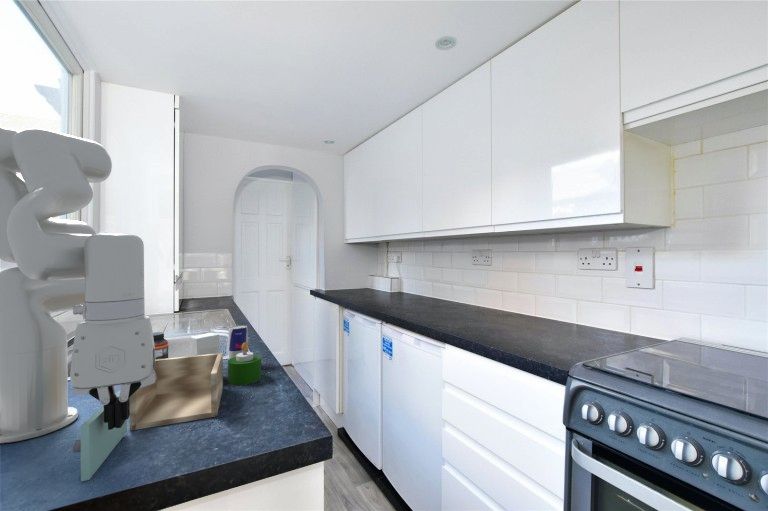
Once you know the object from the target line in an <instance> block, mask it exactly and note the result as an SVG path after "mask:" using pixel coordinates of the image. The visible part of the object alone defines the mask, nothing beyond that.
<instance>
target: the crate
mask: <svg viewBox="0 0 768 511" xmlns="http://www.w3.org/2000/svg"><path fill="white" fill-rule="evenodd" d="M223 360H224V354H223V352H220V353H216V354H206V355H197V356H190V355H189V356H179V357H170V358H169V357H168V358H167V359H157V360H155V369H154V370H155V373H156V376H157V380H156V381H155V383H153V384H150V385H147V386H144V387H141V388H139V389H138V390H137V391H136V392H135V393H134V394H133V395H132V396H131V397H130V415H129V431H134V430H136V431H137V430H143V429H148V428H154V427H155V428H156V427H161V426H165V425H167V426H168V425H173V424H178V423H185V422H190V421H196V420H203V419H209V418H216V417H217V416H218V413H219V408H220V403H221V398H222V395H223V391H224V365H223V364H224V361H223Z"/></svg>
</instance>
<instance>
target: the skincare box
mask: <svg viewBox="0 0 768 511" xmlns="http://www.w3.org/2000/svg"><path fill="white" fill-rule="evenodd" d="M216 353H221V351H220V334H219V333H215V332H207V333H203V334H198V335H192V336H189V354H190V355H189V356H197V355H206V354H216Z"/></svg>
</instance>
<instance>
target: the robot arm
mask: <svg viewBox="0 0 768 511" xmlns="http://www.w3.org/2000/svg"><path fill="white" fill-rule="evenodd" d="M112 169H113V163H112V158H111V155H110V153H109V152H108V150H107V149H106V148H105V146H103V145H102V144H100V143H98V142H96V141H93V140H90V139H86V138H82V137H77V136H74V135H70V134H66V133H62V132H59V131H55V130H49V129H44V128H36V127H35V128H34V127H31V128H25V129H21V130H17V129H13V128H9V127H8V128H7V127H2V126H0V260H1V261H3V262H7V263H12V264H16V265H17V266H15V267H9V268H7V269H4V270H2V271H0V444H5V443H6V444H8V443H9V444H10V443H14V442H20V441H21V442H22V441H25V440H30V439H33V438H39V437H41V436H44V435H47V434H50V433H53V432H55V431H57V430H60V429H62V428H64V427H66V426H68V425H70V424H72V423H73V422H74V421H76V420H77V418H78V417H79V410H78V409H77V408H76V407H73V406H69V402H68V401H69V400H68V399H69V394H68V393H69V388H68V387H69V386H68V385H69V384H68V383H69V382H68V381H69V380H70V386H71V387H72V394H74V395H78V396H79V395H80V396H81V395H82V396H91V397H92V398H95V399H96V400H97V401H99V403H100V405H102V406H103V405H104V423H108V430H111V429H113V428H121V427H122V425H123V424H124V422H125V420H126V419H127V420H129V419H130V397H131V396H132V395H133V394H134V393H135V392H136V391H137V390H138V389H139V388H141V387H144V386H147V385H150V384H153V383H155V381H156V380H157V376H156V373H155V370H154V369H155V346H154V338H153V333H154V332H153V326H152V323H151V319H150V316H149V315H145V306H146V305H145V246H144V241H143V239H142V238H141V237H140V236H137V235H134V234H129V233H128V234H127V233H126V234H125V233H97V232H96V231H95V230H94V228H93V227H92V226H91V225H89V224H88V223H86V222H83V221H79V220H72V219H71V220H70V219H59V218H58V219H57V217H60V216H65V215H68V214H72V213H75V212H78V211H80V210H82V209H84V208H85V207H87V206H88V205H89V204H90V203H91V202H92V200H93V197H94V192H93V189H92V186H91V185H90V183H93V184H97V183H98V184H99V183H102V182H104V181H106V180H108V178H109V176H110V175H111V172H112ZM17 173H19V174H20V175H21V177H20V175H18V174H17ZM65 311H72V313H73V315H79V316H82V319H83V320H84V321H80V322H78V323H77V325H76V328H75V334H74V339H73V345H72V353H71V361H70V363H71V364H70V374H69V373H68V372H69V371H68V333H67V331H66V329H65V328H64V326H63V325H62V324H60V323H59V322H58V321H57V320H55V319H54V318H53V317H52V316H51V314H53V313H59V312H65ZM68 374H69V376H70V378H69V380H68V377H69V376H68ZM115 386H120V389H119V390H120V395H119V397H116V395H115V394H116V393H115V388H114V387H115Z"/></svg>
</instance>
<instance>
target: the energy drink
mask: <svg viewBox="0 0 768 511" xmlns="http://www.w3.org/2000/svg"><path fill="white" fill-rule="evenodd" d="M248 328H249V327H248V326H247V325H243V324H242V325H241V324H239V325H233V326H229V328H228V332H227V333H228V360H229V359H231V358H233V357H236V355H237V354H239V353H243V351H242V344H243V343H246V344H247V346H248V348H247V352H249V329H248Z"/></svg>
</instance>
